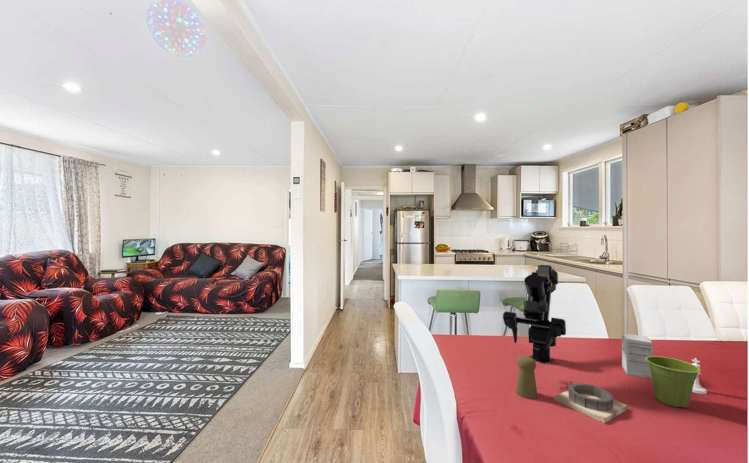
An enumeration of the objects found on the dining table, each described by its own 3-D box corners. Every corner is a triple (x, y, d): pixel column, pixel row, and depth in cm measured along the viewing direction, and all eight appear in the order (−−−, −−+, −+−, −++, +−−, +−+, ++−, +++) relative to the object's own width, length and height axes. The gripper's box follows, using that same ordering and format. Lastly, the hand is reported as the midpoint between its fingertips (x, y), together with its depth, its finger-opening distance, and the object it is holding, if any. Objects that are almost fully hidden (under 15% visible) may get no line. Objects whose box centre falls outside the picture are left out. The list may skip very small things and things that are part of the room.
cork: (540, 399, 94) (540, 362, 94) (518, 397, 95) (518, 360, 95) (534, 390, 100) (534, 354, 100) (513, 388, 101) (513, 353, 101)
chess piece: (703, 395, 98) (703, 362, 98) (682, 388, 102) (682, 357, 102) (709, 391, 100) (709, 359, 100) (688, 385, 104) (688, 354, 104)
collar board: (578, 389, 100) (578, 378, 100) (627, 409, 89) (627, 396, 89) (554, 400, 94) (554, 387, 94) (604, 423, 83) (604, 408, 83)
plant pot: (707, 417, 85) (707, 375, 86) (649, 405, 92) (649, 365, 92) (693, 398, 95) (693, 360, 96) (641, 388, 102) (642, 352, 102)
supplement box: (621, 366, 118) (621, 332, 118) (647, 371, 115) (647, 335, 115) (625, 374, 112) (625, 338, 112) (653, 379, 108) (653, 341, 108)
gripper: (504, 288, 113) (495, 326, 104) (565, 294, 102) (562, 337, 93) (508, 306, 119) (501, 344, 110) (567, 314, 109) (564, 356, 100)
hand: (530, 345), depth 103 cm, fingers open, 9 cm apart
